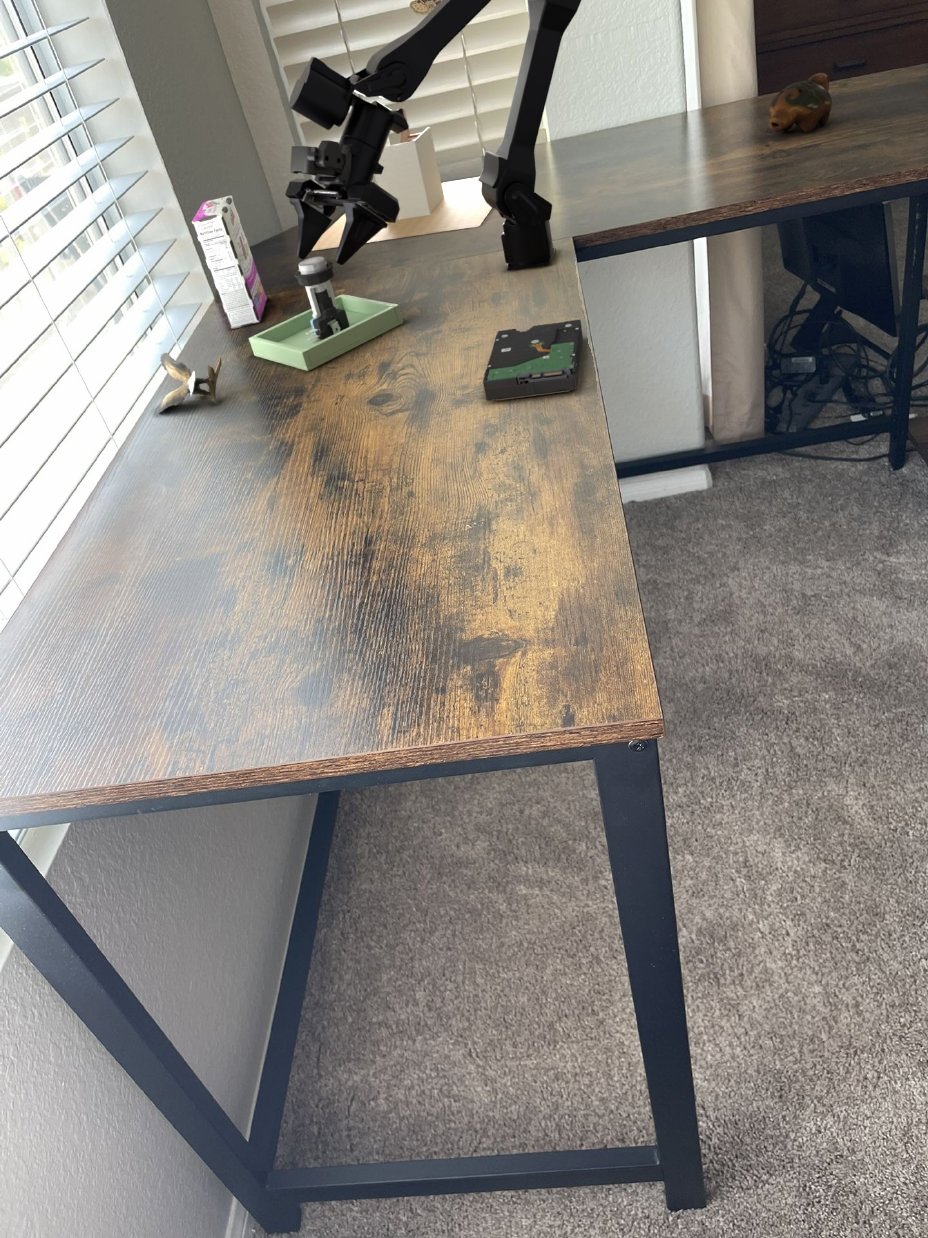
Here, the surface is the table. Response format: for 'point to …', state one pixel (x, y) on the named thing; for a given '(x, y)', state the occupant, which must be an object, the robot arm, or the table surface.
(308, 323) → the tray
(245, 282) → the candy bar box
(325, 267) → the push button
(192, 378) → the eagle figurine
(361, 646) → the table surface
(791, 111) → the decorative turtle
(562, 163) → the table surface
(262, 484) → the table surface
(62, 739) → the table surface
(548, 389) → the disk drive
